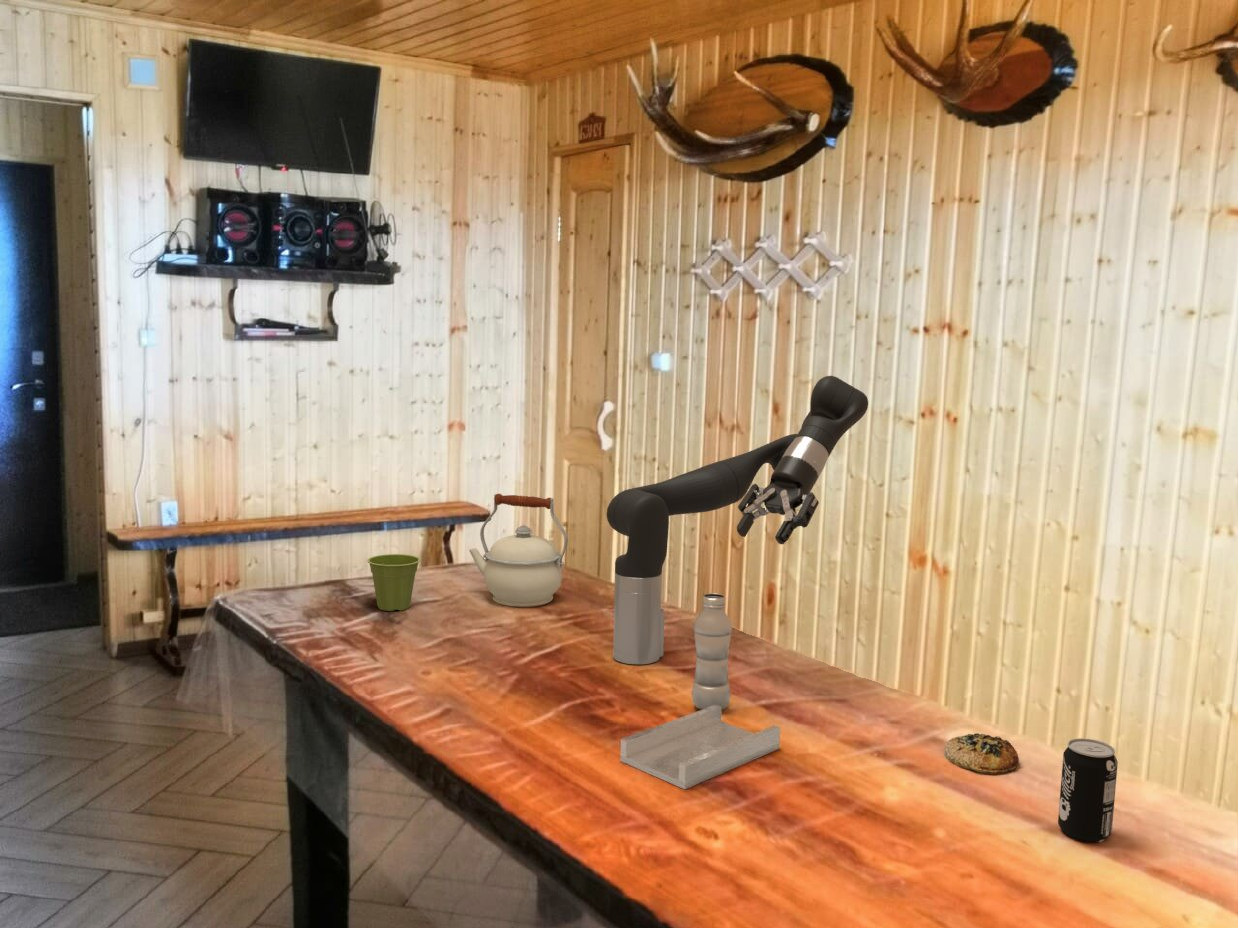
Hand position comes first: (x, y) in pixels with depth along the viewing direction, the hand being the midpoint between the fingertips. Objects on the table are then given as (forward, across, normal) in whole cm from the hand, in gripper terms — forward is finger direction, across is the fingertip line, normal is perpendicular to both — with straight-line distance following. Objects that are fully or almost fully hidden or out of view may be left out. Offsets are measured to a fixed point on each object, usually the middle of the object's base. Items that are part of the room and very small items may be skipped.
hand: (759, 537), depth 190 cm
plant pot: (+33, +90, -8) cm, 96 cm away
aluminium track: (+40, -12, 0) cm, 42 cm away
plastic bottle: (+29, 0, -12) cm, 31 cm away
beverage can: (+27, -63, -14) cm, 70 cm away
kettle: (+15, +78, -26) cm, 84 cm away
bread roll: (+19, -42, -23) cm, 51 cm away
